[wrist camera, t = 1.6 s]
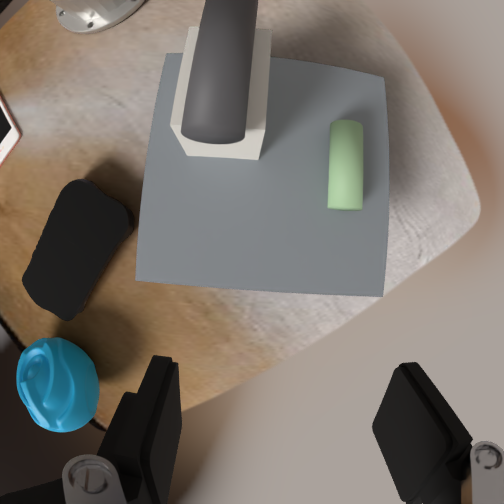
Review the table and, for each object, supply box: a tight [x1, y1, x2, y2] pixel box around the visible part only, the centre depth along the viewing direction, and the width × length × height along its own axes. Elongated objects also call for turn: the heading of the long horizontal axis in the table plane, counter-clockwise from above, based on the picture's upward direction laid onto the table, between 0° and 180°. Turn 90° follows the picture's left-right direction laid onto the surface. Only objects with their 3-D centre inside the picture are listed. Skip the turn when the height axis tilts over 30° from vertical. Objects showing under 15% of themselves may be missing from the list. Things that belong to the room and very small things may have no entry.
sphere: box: [17, 337, 99, 432], centre depth 31 cm, size 12×11×12 cm
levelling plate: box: [135, 0, 389, 297], centre depth 18 cm, size 18×18×12 cm
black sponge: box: [22, 179, 134, 321], centre depth 31 cm, size 16×8×4 cm, turn 141°
